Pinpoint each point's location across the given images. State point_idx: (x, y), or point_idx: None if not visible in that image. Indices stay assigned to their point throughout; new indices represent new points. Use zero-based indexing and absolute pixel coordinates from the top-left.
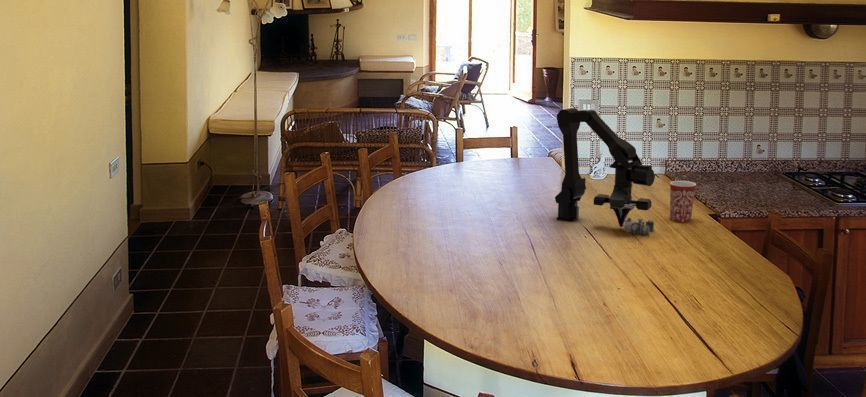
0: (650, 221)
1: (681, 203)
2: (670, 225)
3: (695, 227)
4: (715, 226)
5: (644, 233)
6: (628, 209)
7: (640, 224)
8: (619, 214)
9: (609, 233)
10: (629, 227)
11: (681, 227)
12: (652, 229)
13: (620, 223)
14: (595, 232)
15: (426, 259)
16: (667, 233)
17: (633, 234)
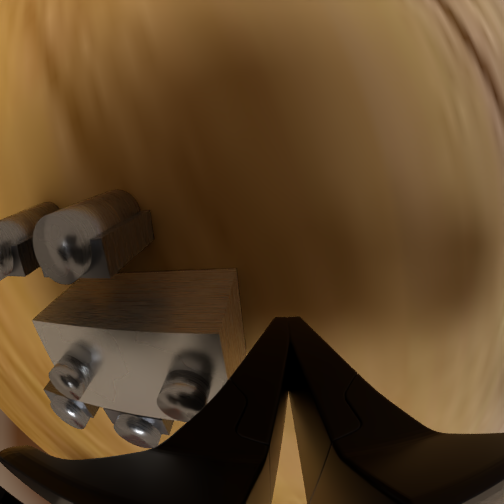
0: (55, 400)
1: None
2: (97, 445)
3: (37, 425)
4: (25, 433)
5: (29, 209)
6: (15, 470)
7: (53, 314)
8: (325, 419)
9: (352, 112)
10: (172, 293)
11: (56, 425)
12: None
13: (293, 333)
14: (466, 106)
15: None
16: (15, 331)
17: (113, 191)
